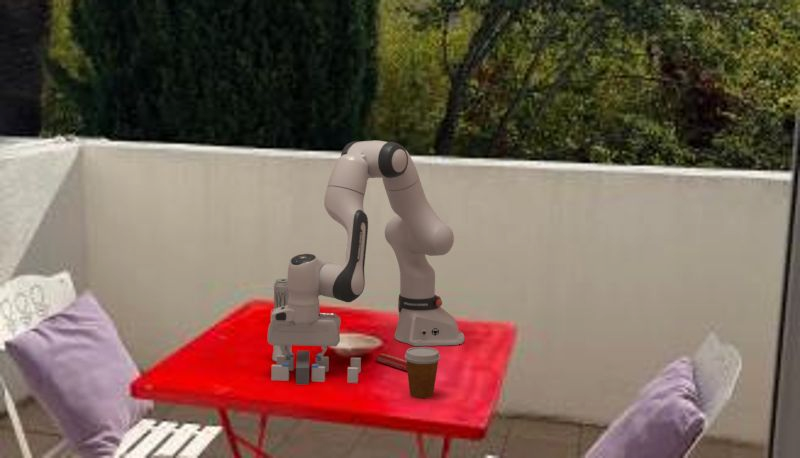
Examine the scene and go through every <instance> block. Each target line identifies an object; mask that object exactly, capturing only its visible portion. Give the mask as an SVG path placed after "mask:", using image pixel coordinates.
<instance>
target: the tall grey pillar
mask: <svg viewBox="0 0 800 458" xmlns="http://www.w3.org/2000/svg"><path fill="white" fill-rule="evenodd" d="M295 365H296V366H295V385H310V350H297V352H296V364H295Z"/></svg>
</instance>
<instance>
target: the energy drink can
mask: <svg viewBox="0 0 800 458" xmlns="http://www.w3.org/2000/svg"><path fill="white" fill-rule="evenodd" d="M287 280H288V278H278V279H276V280H275V283H274V284H273V288H274V289H273V309H275V308H278V307H282V306H286V305H288V298H289V291H288V285H287Z"/></svg>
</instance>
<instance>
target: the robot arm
mask: <svg viewBox="0 0 800 458" xmlns="http://www.w3.org/2000/svg"><path fill="white" fill-rule="evenodd" d="M331 171H332V172H331V174H330V177H329V180H328V183H327V187H326V190H325V195H324V209H325V210H326V212H327V214H328V216H329V217H330V218H332V220H334V221H335V222H337V223H338V224H340V225H341V226H342V227H343V228H344V229H345V231H346V233H347V244H346V253H345V262H344V263H343V264H338V263H333V262H328V261H323V260H321V259H318V258H317V257H316V255H315V254H312V253H302V254H297V255H294V256H293V257H292V258H291V259H290V260H289V263H288V269H287V279H288V280H287V285H288V291H289V298H288V305H286V306H282V307H278V308H276V309H275V310H274V311H273V313H272V321H271V320H270V323H269V325H268V330H267V342H268V344H269V345H271V346H273V345H280V349H281V350H282V352H283V354H284V360H290V353H288V352H287V351H286V349H285V348H286V345H292V346H303V347H304V346H305V347H307V346H309V347H310V346H311V347H315V346H316V347H321V350H322V351H321V352H318V353H317V354H318V361H323V358H324V357H325V356H324V355H325V353H326V351H327V349H328V347H337V346H338V345H339V343H340V341H341V338H340V337H341V336H340V335H341V334H340V327H341V323H342V321H341V317H340V316H339V315H337V314H336V313H334V312H330V313H329V312H327V313H326V312H320V298H319V297H320V296H323V297H327V298H332V299H336V300H339V301H342V302H345V303H351V302H353V301H355V300H356V299H358V298H359V297H360V296H361V295H362V294H363V292H364V289H365V284H366V281H365V277H366V276H365V265H366V264H365V263H366V253H367V241H368V231H369V220H368V215H367V214H366V213H365V211H364V200H365V195H366V190H367V186H368V185H367V184H368V180H369V179H377V178H378V179H380V178H382V183H383V186H384V189H385V193H386V195H387V198H388V199H387V200H388V201H389V205H390V208H391V209H392V211H393V212H394V214H396V215H397V216H393V217H392V218H389V220H388V221H387V223H386V225H385V227H384V236H385V237H384V238H385V240H386V242H387V243H388V244H389V245H390V247H391V248H392V250H393V252H394V255H395V257H396V261H397V263H398V267H399V269H398V270H399V279H400V281H399V286H400V287H399V289H400V290H399V292H400V293H399V294H398V298H397V301H398V302H397V303H398V304H397V306H398V307H397V308H398V309H397V310H398V320H397V326H396V330H395V332H394V333H395V334H394V339H395V340H397V341H399V342H401V343H405V344H409V345H410V346H412V347H413V346H414V347H429V346H430V347H431V346H459V344H460V345H462V344H463V343H464V342H465V335H464V333H463V332H462V331H460V330H459V328H458V323H457V320H456V318H455V317H454V316H453V315H452V314H450V313H449V312H448V311H446V309H444V308H443V307H442V305H443V301H442V299H441V296H439V295H437V294H436V271H435V269H434V268H433V266H432V265H431V264H430V263H429V261H428V260H427V257H426V255H427V256H430V257H431V256H435V257H436V256H445V255H446V254H448V253H449V252H450V251H451V249H452V247H453V245H454V242H455V241H454V240H455V236H454V232H453V230H452V228H451V227H450V226H449V225H447V224H446V223H445V222H444V221H443V220H442V219H441V218H440V217H439V215H437V213H436V212H435V211H434V209H433V207H432V206H431V204H430V203H429V200H428V198H427V196H426V194H425V191H424V188H423V185H422V182H421V179H420V176H419V172H418V170H417V168H416V165H415V163H414V161H413V159H412V157H411V155H410V153H409V152H408V151H407V150H406V149H405V148H404V146H403V145H402V144H399V143H397V142H395V141H394V142H393V141H384V140H377V139H376V140H363V141H361V140H356V141H352V142H351V141H350V142H349V143H347V144H346V145H345V146H344V147H343V149H342V150H341V154H340V157H338V159H337V160H336V162H335V165H334V167H333V169H332V170H331Z"/></svg>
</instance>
